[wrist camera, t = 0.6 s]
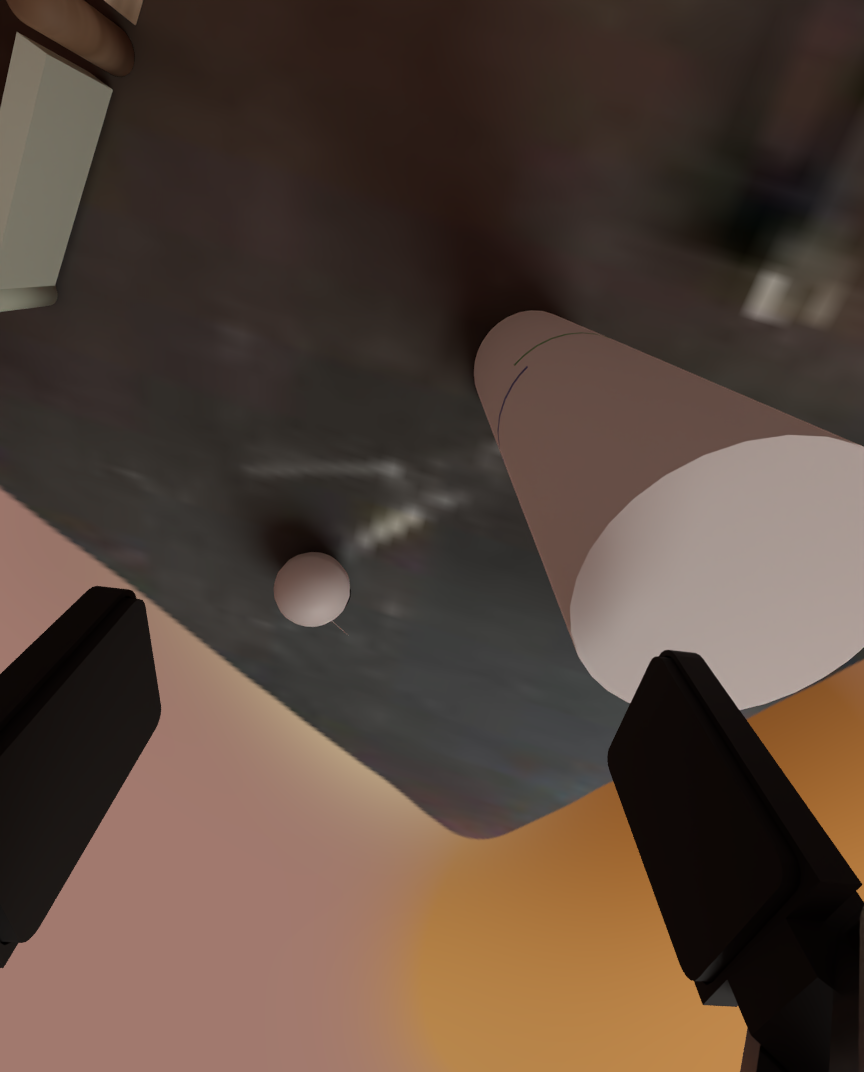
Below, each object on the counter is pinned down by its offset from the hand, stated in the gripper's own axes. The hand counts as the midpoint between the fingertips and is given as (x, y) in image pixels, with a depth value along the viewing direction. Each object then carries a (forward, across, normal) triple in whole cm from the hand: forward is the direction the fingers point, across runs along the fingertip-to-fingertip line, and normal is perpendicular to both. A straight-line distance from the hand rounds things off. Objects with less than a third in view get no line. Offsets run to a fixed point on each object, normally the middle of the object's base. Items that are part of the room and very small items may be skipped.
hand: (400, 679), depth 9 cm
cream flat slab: (+26, +21, -7) cm, 34 cm away
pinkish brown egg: (+27, +6, +16) cm, 32 cm away
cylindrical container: (+27, -7, -2) cm, 28 cm away
